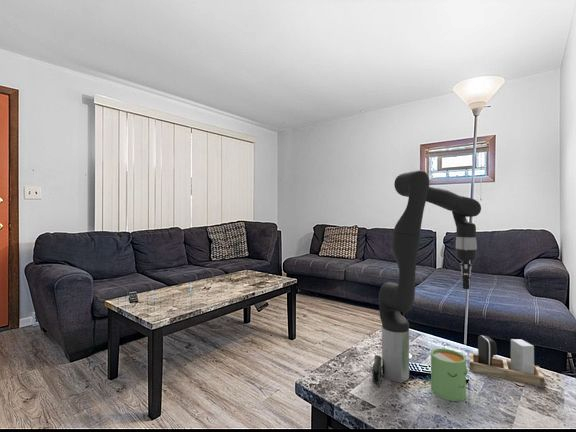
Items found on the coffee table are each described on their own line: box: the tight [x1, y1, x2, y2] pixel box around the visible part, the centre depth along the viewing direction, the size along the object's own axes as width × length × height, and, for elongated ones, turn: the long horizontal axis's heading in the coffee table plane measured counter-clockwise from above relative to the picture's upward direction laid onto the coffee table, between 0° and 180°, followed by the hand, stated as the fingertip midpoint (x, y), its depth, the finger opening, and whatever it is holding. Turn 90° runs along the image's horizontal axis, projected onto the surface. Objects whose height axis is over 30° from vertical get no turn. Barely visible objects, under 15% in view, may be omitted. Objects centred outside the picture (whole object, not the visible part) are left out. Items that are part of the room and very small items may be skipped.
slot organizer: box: [469, 352, 546, 388], centre depth 112 cm, size 9×22×3 cm, turn 59°
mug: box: [430, 348, 468, 402], centre depth 100 cm, size 13×10×12 cm
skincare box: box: [510, 338, 535, 375], centre depth 109 cm, size 6×4×12 cm
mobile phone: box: [372, 354, 383, 388], centre depth 110 cm, size 5×3×15 cm
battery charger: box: [477, 334, 498, 366], centre depth 114 cm, size 7×4×11 cm, turn 173°
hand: (466, 286), depth 126 cm, fingers open, 8 cm apart
